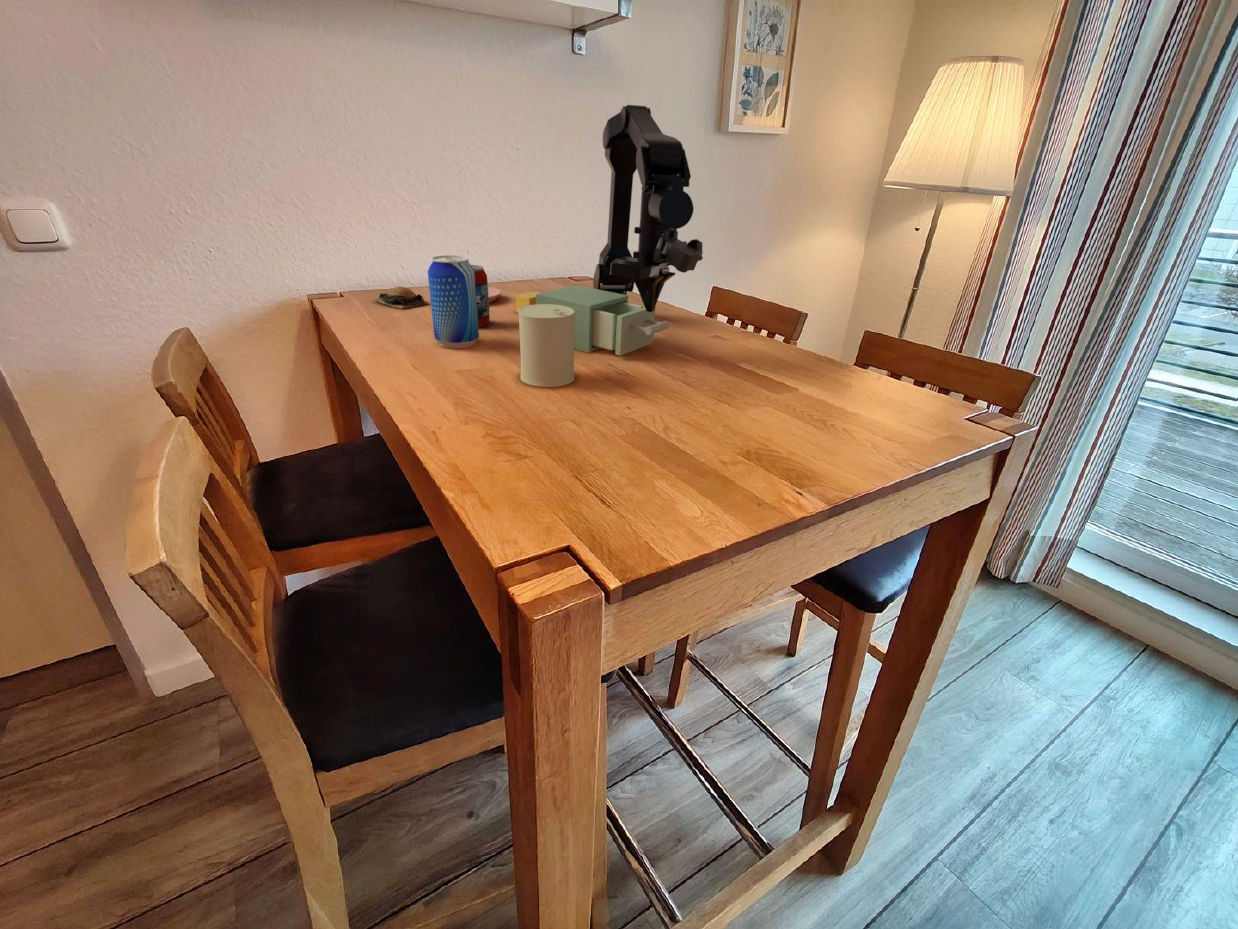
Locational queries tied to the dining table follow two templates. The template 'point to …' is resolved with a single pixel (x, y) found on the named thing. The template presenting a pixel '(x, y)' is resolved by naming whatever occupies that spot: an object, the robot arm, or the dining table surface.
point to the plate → (493, 293)
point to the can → (547, 345)
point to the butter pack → (525, 300)
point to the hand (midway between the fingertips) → (649, 311)
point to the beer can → (453, 301)
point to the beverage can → (481, 295)
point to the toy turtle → (401, 298)
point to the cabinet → (581, 309)
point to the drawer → (624, 327)
